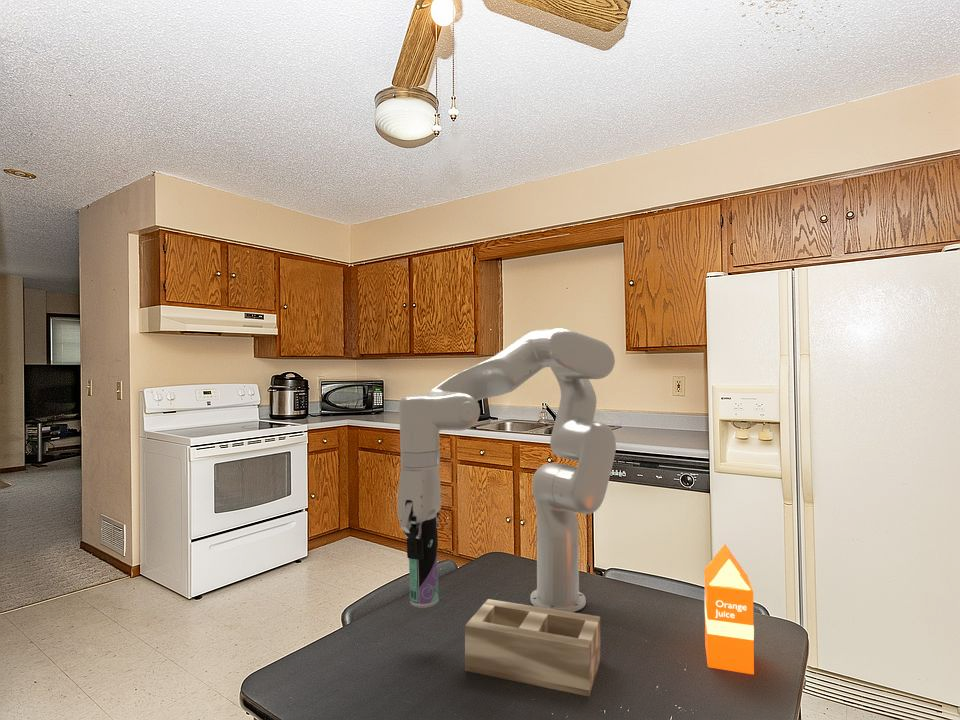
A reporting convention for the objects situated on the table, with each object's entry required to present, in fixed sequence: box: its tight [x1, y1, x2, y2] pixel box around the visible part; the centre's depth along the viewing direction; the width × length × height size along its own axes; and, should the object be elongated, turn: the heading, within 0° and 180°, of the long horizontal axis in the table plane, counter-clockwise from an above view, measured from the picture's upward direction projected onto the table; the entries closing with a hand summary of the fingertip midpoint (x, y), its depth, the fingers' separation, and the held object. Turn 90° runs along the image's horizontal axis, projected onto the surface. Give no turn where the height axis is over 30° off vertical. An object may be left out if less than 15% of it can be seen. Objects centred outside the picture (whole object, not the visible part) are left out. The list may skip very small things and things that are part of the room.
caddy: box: [464, 598, 601, 697], centre depth 101 cm, size 12×22×8 cm, turn 69°
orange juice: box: [703, 543, 755, 675], centre depth 103 cm, size 8×9×20 cm
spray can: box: [408, 510, 439, 609], centre depth 107 cm, size 6×6×20 cm
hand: (422, 552), depth 107 cm, fingers closed on spray can, 5 cm apart
